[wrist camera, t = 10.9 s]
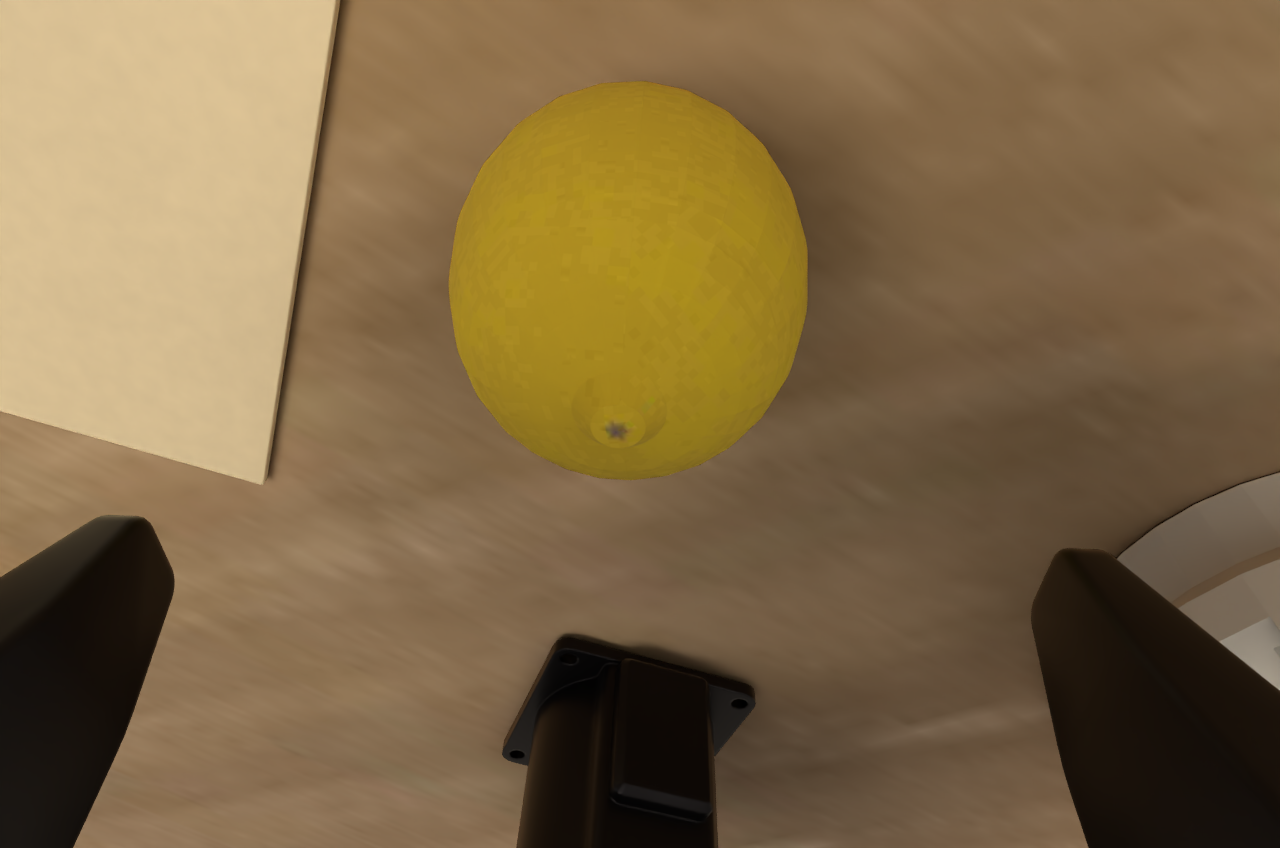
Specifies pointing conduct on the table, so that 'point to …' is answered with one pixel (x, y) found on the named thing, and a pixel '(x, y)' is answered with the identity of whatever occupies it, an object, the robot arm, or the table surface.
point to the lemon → (628, 281)
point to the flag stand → (1223, 569)
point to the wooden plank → (156, 216)
